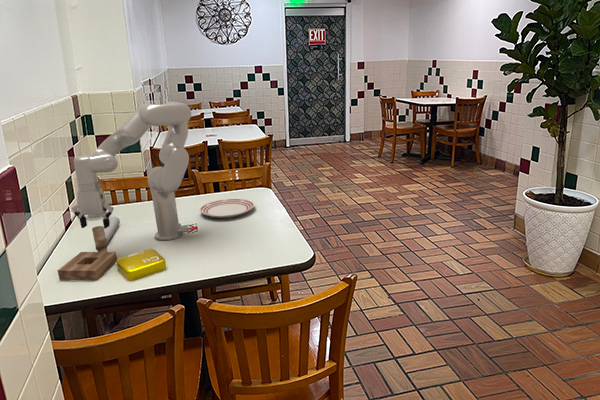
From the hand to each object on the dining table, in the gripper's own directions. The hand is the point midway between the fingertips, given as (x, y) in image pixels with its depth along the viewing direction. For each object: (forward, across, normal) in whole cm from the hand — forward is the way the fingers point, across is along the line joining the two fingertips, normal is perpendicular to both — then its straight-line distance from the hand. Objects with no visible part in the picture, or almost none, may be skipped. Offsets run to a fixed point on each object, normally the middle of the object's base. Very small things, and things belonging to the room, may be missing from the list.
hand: (95, 227), depth 190 cm
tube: (+13, +7, -21) cm, 25 cm away
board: (+13, -3, +13) cm, 19 cm away
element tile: (+13, -23, +12) cm, 29 cm away
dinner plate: (+11, -41, -51) cm, 66 cm away
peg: (+12, -1, -1) cm, 13 cm away
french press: (+12, +26, -46) cm, 54 cm away
